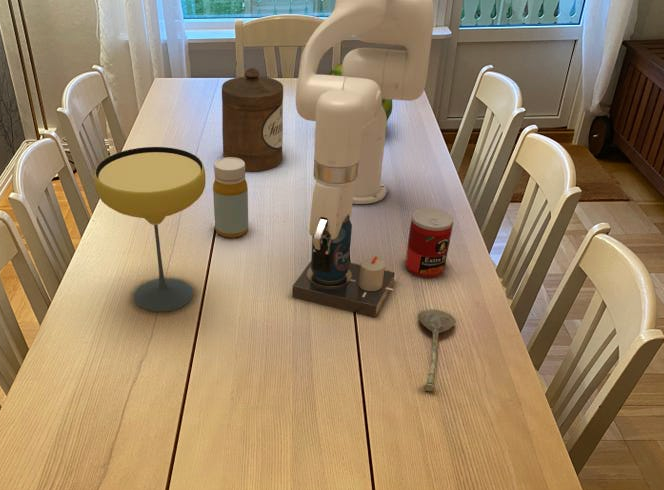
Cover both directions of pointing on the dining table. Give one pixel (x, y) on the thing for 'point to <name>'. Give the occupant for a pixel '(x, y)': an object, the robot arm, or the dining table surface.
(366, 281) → the hob knob
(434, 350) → the soupspoon
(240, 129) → the wooden container
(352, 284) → the hob
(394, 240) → the dining table surface
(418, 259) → the canned food
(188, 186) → the cocktail glass
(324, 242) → the soda can
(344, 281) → the burner ring
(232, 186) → the bottle
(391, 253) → the dining table surface
